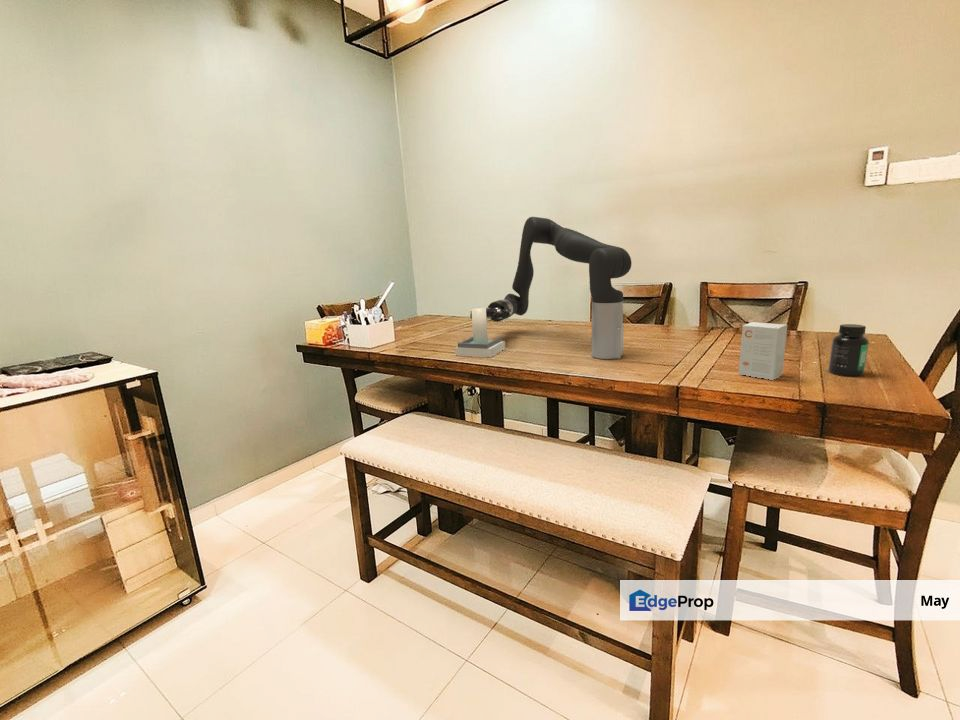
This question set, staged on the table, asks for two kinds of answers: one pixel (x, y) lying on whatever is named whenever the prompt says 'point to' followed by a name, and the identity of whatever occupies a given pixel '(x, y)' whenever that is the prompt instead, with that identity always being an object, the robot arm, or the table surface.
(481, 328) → the canister
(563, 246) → the robot arm
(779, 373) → the small box
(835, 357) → the supplement bottle
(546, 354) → the table surface
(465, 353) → the tray
